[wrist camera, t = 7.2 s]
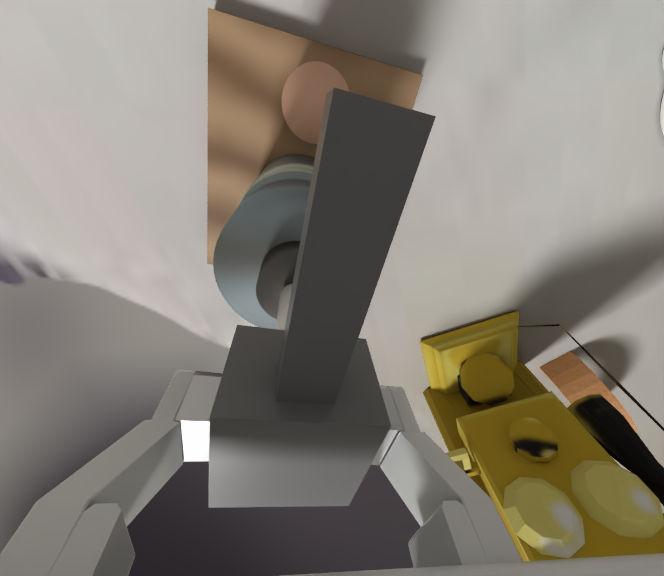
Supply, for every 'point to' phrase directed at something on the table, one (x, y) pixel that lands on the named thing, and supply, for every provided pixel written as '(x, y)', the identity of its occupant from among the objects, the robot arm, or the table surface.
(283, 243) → the stand
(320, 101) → the pink egg shape
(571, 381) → the arch
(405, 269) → the table surface
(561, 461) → the vintage telephone
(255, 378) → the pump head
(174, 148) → the table surface
